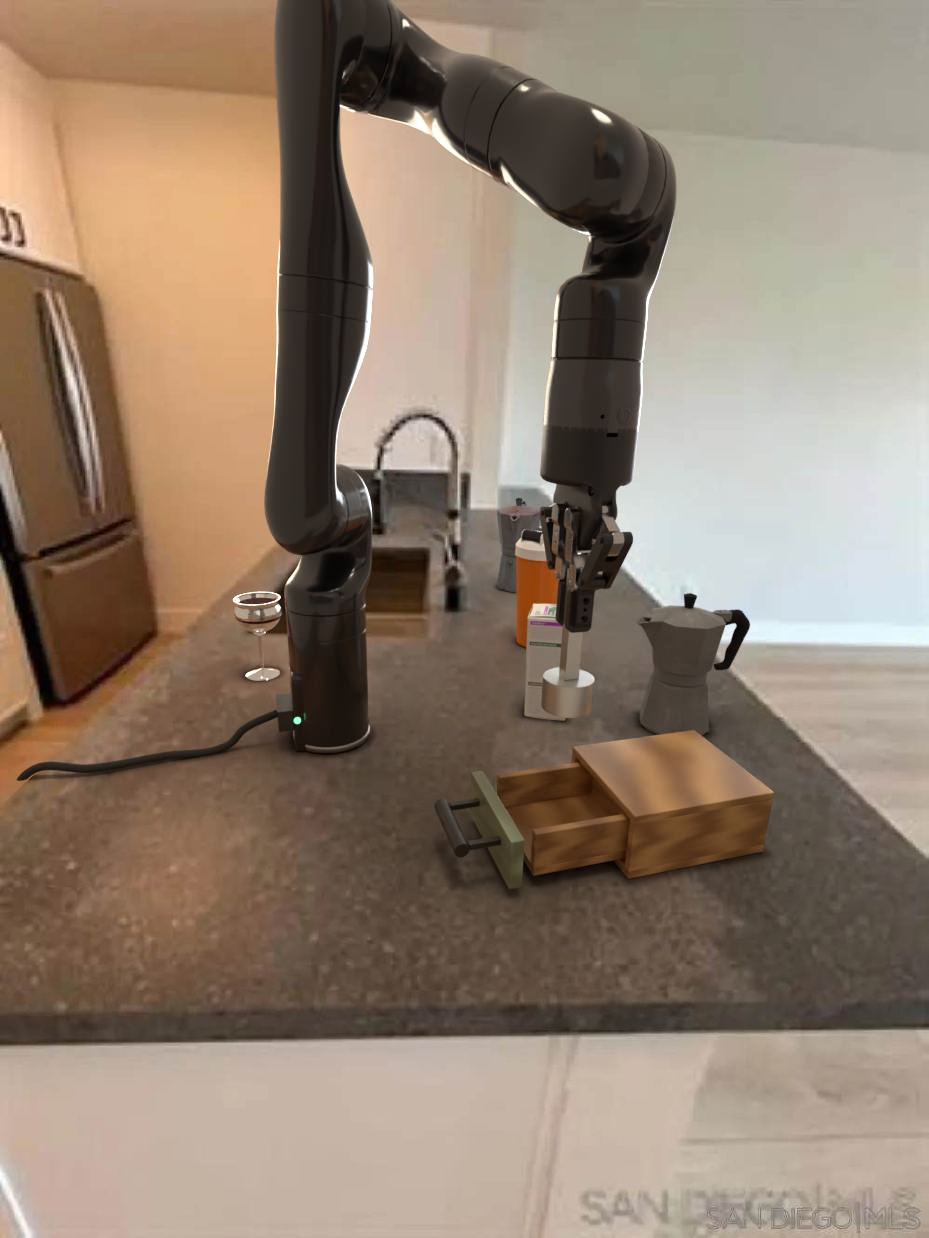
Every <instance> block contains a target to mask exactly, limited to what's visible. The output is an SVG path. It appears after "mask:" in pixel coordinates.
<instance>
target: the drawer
mask: <svg viewBox="0 0 929 1238" xmlns="http://www.w3.org/2000/svg"><path fill="white" fill-rule="evenodd" d="M469 795H470V796H469V797H470V798H469V799H463V800H462V799H461V800H457V801H448V800H447V799H446V798H439V799H438V800H436V801H435V802H434V805H433V807H434V810H435V812H436V815H437V817H438V819H439V822H440V825H441V827H442V829H443V831H444V833H445V837H446V838H447V840H448V843H449V845H450V847H451V850H452V852H453V854H454V856H456V857H457V858H465V857H466V856H467V855H468V854H469V853H470V851H474V850H475V851H476V850H479V849H480V850H481V849H485V848H487V849H488V851H489V853H490V855H491V857H492V860H493V861H494V864H495V865H496V867H497V869H498V871H499V874H500V875H501V876H502V879H503V880H504V882H505V885H506V886H507V889H508V890H513V889H518V888H522V887H523V872H524V862H525V864H526V866H527V868H528V869H529V871H530V873H531V875H532V876H533V877H535V876H538V875H544V874H549V873H555V872H560V871H566V870H571V869H575V868H580V867H586V866H592V865H596V864H601V863H606V862H611V861H614V860H618V859H623V858H626V850H627V841H628V833H629V824H630V818H629V817H628V816H627V815H626V814H625V813H624V812H623V810H622V809H621V808H620V807H619V806H618V805H617V804H616V802H615V801H614V800H613V799H612V798H611V797H610V796H609V794H608V793H607V792H606V791H605V790H604V789H603V788H602V786H601V785H600V784H599V783H598V782H597V781H596V780H595V778H594V777H593V776H592V775H591V774H590V773H589V772H588V770H587V769H586V768H585V767H584V766H583V765H582V764H581V762H577V763H564V764H558V765H550V766H543V767H536V768H529V769H523V770H516V771H509V772H501V773H497V777H496V790H495V789H494V787H493V786H492V784H491V782H490V781H489V778H488V777H487V775H486V774H485V772H484V771H483V770H475V771H474V770H473V771H471V772H470V794H469ZM464 809H469V815H470V816H471V818H472V820H473V822H474V823H475V826H476V828H477V830H478V832H479V834H480V835H481V838H478V839H472V840H468V841H467V839H466V837H465V834H464V833H463V831H462V828H461V826H460V825H459V822H458V820H457V818H456V816H455V813H454V812H453V811H459V810H464Z"/></svg>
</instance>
